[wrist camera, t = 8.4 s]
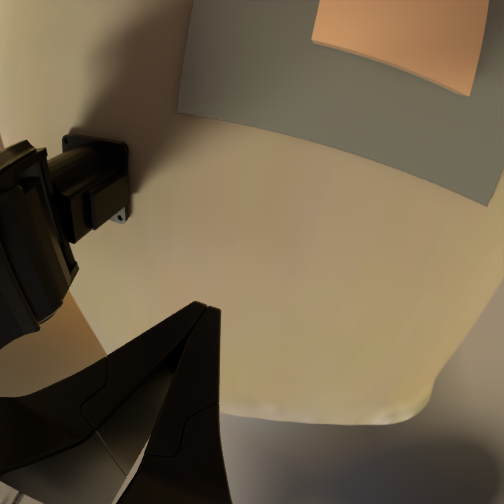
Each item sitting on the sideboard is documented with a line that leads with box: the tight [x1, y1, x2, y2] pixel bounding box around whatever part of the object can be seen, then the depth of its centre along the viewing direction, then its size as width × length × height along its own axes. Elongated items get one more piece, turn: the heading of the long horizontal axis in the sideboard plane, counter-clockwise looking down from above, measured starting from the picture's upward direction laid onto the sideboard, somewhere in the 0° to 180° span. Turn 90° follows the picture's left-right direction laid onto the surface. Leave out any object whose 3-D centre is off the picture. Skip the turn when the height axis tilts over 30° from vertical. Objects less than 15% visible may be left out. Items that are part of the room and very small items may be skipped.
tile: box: [311, 0, 489, 97], centre depth 11 cm, size 2×7×8 cm
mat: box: [177, 0, 504, 207], centre depth 12 cm, size 20×18×1 cm
